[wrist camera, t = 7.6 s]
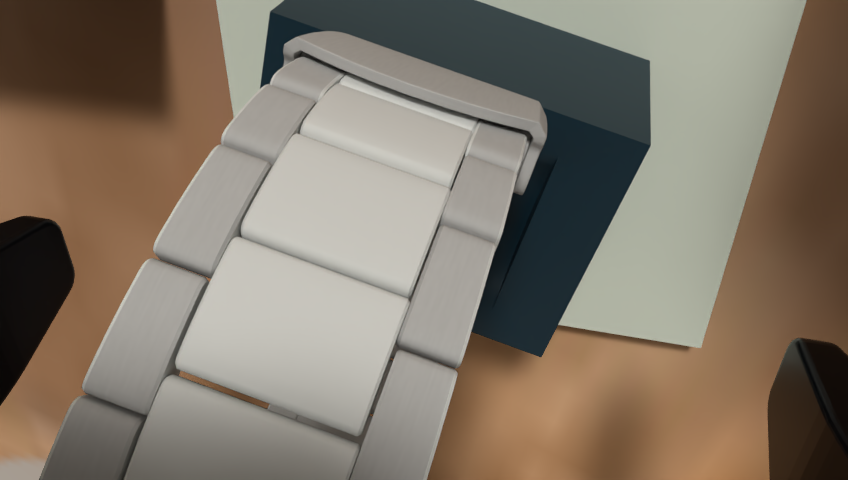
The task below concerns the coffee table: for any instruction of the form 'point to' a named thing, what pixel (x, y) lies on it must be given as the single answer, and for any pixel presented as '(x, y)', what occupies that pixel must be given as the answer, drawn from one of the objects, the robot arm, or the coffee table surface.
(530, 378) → the coffee table surface
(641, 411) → the coffee table surface
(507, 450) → the coffee table surface
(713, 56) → the pad
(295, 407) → the watch
